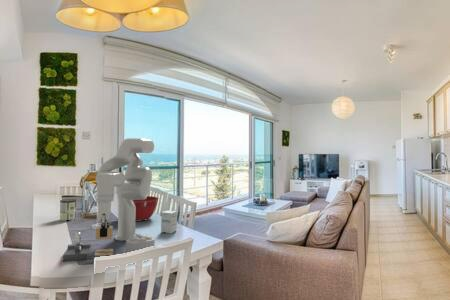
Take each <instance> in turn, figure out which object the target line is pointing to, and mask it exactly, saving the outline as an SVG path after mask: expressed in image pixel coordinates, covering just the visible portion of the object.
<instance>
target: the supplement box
mask: <svg viewBox="0 0 450 300" xmlns="http://www.w3.org/2000/svg"><path fill="white" fill-rule="evenodd" d="M177 228H178V211H177V210H176V211H175V210H169V209H168V210H164V211H162V212H161V222H160V233H163V232H166V233H165V234H170V233H171V234H173V233H172V232H174V231H176V230H177ZM176 232H177V231H176ZM174 233H175V232H174Z"/></svg>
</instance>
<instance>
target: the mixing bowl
mask: <svg viewBox="0 0 450 300" xmlns="http://www.w3.org/2000/svg"><path fill="white" fill-rule="evenodd" d="M132 201H133V202H134V204H135V207H136V219H135V220H145V219H148V218H149V219H150V218H151V217H152V216H153V214H154V212H155V210H156V208H157V205H158V202H159V197H157V196H151V195H149V196H147V198H146V199H144V200H132ZM149 219H148V220H149ZM145 221H146V220H145Z"/></svg>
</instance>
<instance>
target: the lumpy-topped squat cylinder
mask: <svg viewBox="0 0 450 300" xmlns="http://www.w3.org/2000/svg"><path fill="white" fill-rule="evenodd" d="M136 234H137V233H136ZM150 246H154V247H155V238H154V237H152V236H151V235H149V234H143V235H142V234H140V233H138V234H137V235H135V236H132V237H131V238H130V239H128V240H126V241H125V254H126V253H127V252H131V251H135V250H139V249H143V248H146V247H150Z"/></svg>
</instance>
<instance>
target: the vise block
mask: <svg viewBox="0 0 450 300" xmlns="http://www.w3.org/2000/svg"><path fill="white" fill-rule="evenodd" d="M74 239H75V240H74V243H72V244H68V245H67V249H66V250H65V251H64V253H63V254H62V262H63V263H66V262H77V261H88V259H89V257H90V255H91V252H92V242H88V243H85V242H84V243H81V240H82V233H81V232H74Z"/></svg>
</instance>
